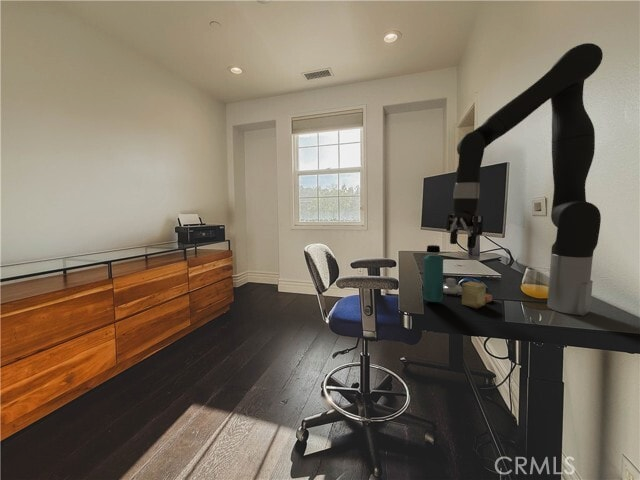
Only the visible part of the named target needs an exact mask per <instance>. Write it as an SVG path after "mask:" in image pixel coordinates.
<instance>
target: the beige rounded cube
mask: <svg viewBox="0 0 640 480" xmlns="http://www.w3.org/2000/svg"><path fill="white" fill-rule="evenodd" d="M461 285H462V286H461V287H462V296H461V305H464V306H468V307H469V308H470V307H471V308H474V309H479V308H481V307H484V306H486V303H485V294H487V293H486V289H487V287H486V286H487V284H485V283H480V282H475V281H467V282H464V283H462V284H461Z"/></svg>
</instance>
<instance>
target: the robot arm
mask: <svg viewBox="0 0 640 480" xmlns="http://www.w3.org/2000/svg"><path fill="white" fill-rule="evenodd" d="M603 58H604V57H603V50H602V47H600V46H599V45H597V44H595V43H591V42H590V43H581V44H578V45H575V46H573V47H572V48H570V49H568V51H566V52H564V54H563V55H562V56H561V57H559V59H558V60H557V61H556V62H555V63H554V64H553V65H552V67H551V68H550V70H548V71H547V72H546V73H545V74H544V75H543V76H541V77H540V78H539V79H538V80H536V82H534V83H532V85H530V86H529V87H527V89H526V90H524V91H523V92H521V93H519V94H518V95H517V96H516V97H514V98H513V99H512V100H510V101H509V102H508V103H506V104H504V106H503V105H502V107H500V109H498V110H497V111H495V112H494V113H492V114H491V115H490V116H489V117H488V118H487V119H486V120H484V121H483V123H482V124H481V125H479V126H478V127H477V128H475V129H474V130H473V131H470V132H468V133H466V134H465V135H463V136H462V138H461V139H460V141H459V142H458V143H457V146H456V151H457V154H458V166H457V167H456V171H455V180H454V181H455V182H454V183H455V184H454V187H453V197H452V208H451V210H452V212H454V213H449V214H447V221H446V228H445V230H446V231H447V232H449V233H450V237H449V243H450V244H451V245H457V244H458V236H459V235H458V234H459V231H460V230H461V229H464V231H466V232H467V235H468V236H467V246H466V247H467V248H469V249H474V248H475V247H476V244H477V243H476V242H477V237H479V236H482V235H483V231H484V230H483V229H484V227H483V225H484V216H482V215H476V213H477V212H478V211H479V203H480V202H479V201H480V181H481V180H480V179H481V167H482V162H483V158H484V154H485V149H486V148H488V146H489V145H491V144H492V143H493V142H494V141H495V140H497V139H499V138H501V137H502V136H503V135H505V134H507V133H508V132H509V131H510V130H512V129H514V128H515V127H517V125H519V124H520V123H521V122H523V121H524V120H526V118H528V117H529V116H530V115H531V114H533V113H534V112H535V111H536V110H538V109H539V108H540V107H541V106H543V105H544V104H545V103H546V102H548V101H549V100H550V103H551V104H550V105H551V159H552V160H551V162H552V164H551V165H552V177H553V178H552V179H553V180H552V181H553V196H552V204H551V205H552V206H551V214H550V218H551V219H550V220H551V222H552V224H553V225H554V227H556V238H555V242H554V243H553V244H552V246H551V251H550V253H551V254H550V264H549V266H550V267H549V277H548V279H549V280H548V290H547V292H548V293H547V307H548V308H549V309H550V310H553V311H556V312H557V313H558V312H559V313H563V314H567V315H577V316H582V317H584V316H585V315H587V314H588V313H589V312H591V305H592V304H591V302H592V295H593V294H592V291H593V284H594V282H593V280H591V279H592V267H593V258H594V251H595V250H596V248H597V246H598V242H599V235H600V229H601V219H602V218H601V216H602V215H601V212H600V209H599V208H598V207H597V205H595V204H593V203H591V202H588V201H587V197H586V184H587V183H586V181H587V178H588V175H589V172H590V169H591V167H592V163H593V160H594V156H595V151H596V150H595V149H596V147H595V146H596V145H595V143H596V142H595V140H596V139H595V138H596V133H595V127H594V123H593V121H592V119H591V118H590V115H589V114H588V113H587V110H586V108H585V105H584V85H585V81H586V80H587V79H589V78H590V77H591V76H592V75H593V74H594V73H595V72H596V71H597V70H598V69H599V67H600V65H601V64H602V61H603Z"/></svg>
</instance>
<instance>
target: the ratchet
mask: <svg viewBox="0 0 640 480" xmlns="http://www.w3.org/2000/svg"><path fill="white" fill-rule="evenodd" d="M456 281H457V279H456V278H452V277H448V278H446V279H445V283H443V284H444V285H443V287H444V288H443V293H446V294H445V295H447V294H455V295H454V296H459V295H462V286H461V285H459V284H456V283H457V282H456ZM456 294H458V295H456ZM492 301H493V295H492V294H489V293H485V304H487V303H488V304H489V303H490V302H492Z"/></svg>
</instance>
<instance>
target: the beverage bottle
mask: <svg viewBox="0 0 640 480" xmlns="http://www.w3.org/2000/svg"><path fill="white" fill-rule="evenodd" d="M426 252H427V253H433V254H426V255H425V256H424V257H423V258H422V261H423V272H422V273H423V275H422V277H423V278H422V282H423V283H422V297H423V300H425V301H428V302H432V303H438V302H439V303H440V302H442V301H443V299H444V294H443V288H444V287H443V285H444V284H445V283H444V258H443V257H442V256H441V255H440V254H438V253H441V249H440V245H437V244H436V245H435V244H434V245H433V244H429V245H426Z"/></svg>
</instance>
